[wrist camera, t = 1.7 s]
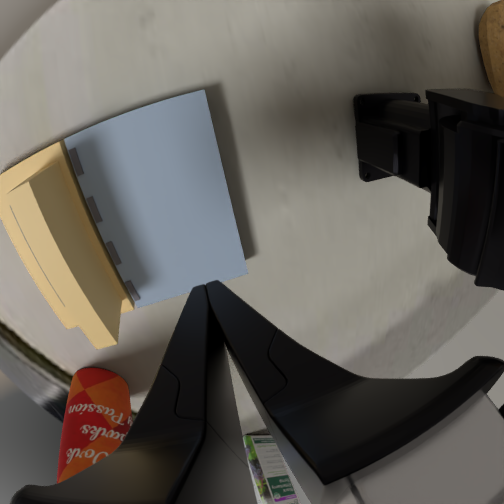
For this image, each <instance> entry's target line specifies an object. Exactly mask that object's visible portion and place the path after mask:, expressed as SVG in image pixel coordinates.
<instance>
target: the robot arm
mask: <svg viewBox="0 0 504 504" xmlns="http://www.w3.org/2000/svg"><path fill="white" fill-rule="evenodd" d="M425 92H426V99H428V104H424V103H421V100H420V96H419V95H418V94H417V93H374V94H358V95H356V96H355V97H354V110H355V120H356V126H355V127H356V139H357V153H358V159H359V176H360V179H361V180H363V181H365V182H370V181H374V180H378V179H382V178H386V177H390V176H397V177H399V178H401V179H403V180H405V181H407V182H409V183H411V184H413V185H415V186H417V187H419V188H422V189H424V190H426V191H428V192H429V193H431V202H430V216H428V226H429V227H430V228H431V230H432V231H433V232H434V234H435V235H436V236H437V239H438V242H439V244H440V245H441V246H442V248H443V249H444V250H445V252H446V253H447V259H448V261H449V262H450V263H452V264H453V265H454V266H456V267H457V268H459V269H460V270H462V271H464V272H466V273H468V274H470V275H473V276H476V278H475V281H474V284H475V285H476V286H481V287H493V288H497V289H500V290H504V98H503V97H501V96H499V95H497V94H494V93H489V92H484V91H478V90H472V89H431V90H425ZM414 98H415V100H414ZM360 99H362V104H360ZM366 173H367V176H366V177H365V174H366ZM224 342H225V343H224ZM225 345H226V346H225ZM226 347H227V350H228V352H229V354H230V356H231V358H232V360H233V362H234V364H235V366H236V369H237V371H238V373H239V375H240V377H241V379H242V381H243V383H244V385H245V387H246V389H247V391H248V392H249V394H250V396H251V398H252V400H253V402H254V404H255V406H256V408H257V410H258V412H259V414H260V415H261V417H262V419H263V421H264V423H265V425H266V427H267V429H268V430H269V432H270V434H271V436H272V438H273V439H274V441H275V443H276V445H277V447H278V448H279V450H280V452H281V454H282V455H283V457H284V459H285V461H286V462H287V464H288V466H289V467H290V469H291V471H292V473H293V474H294V476H295V478H296V479H297V481H298V483H299V484H300V486H301V488H302V489H303V491H304V492H305V494H306V496H307V497H308V499H309V500H310V502H311V504H504V404H503V405H502V406H501V407H500V409H499V410H498V408H497V407H496V406H495V404H494V403H493V402H492V401H491V400H490V398H489V397H488V395H487V393H488V391H489V390H490V389H491V388H492V386H493V385H494V384H495V383H496V381H497V380H498V379H499V378H500V376H501V375H502V373H503V372H504V361H503V360H501V359H499V358H495V357H489V356H475V357H473V358H471V359H470V360H468V361H467V362H465V363H464V364H463V365H462V366H460V367H459V368H458V369H456V370H455V371H453V372H451V373H449V374H446V375H443V376H440V377H435V378H419V379H380V378H367V377H363V376H359V375H356V374H354V373H352V372H350V371H348V370H346V369H344V368H342V367H340V366H338V365H336V364H334V363H332V362H331V361H329V360H327V359H325V358H323V357H321V356H319V355H318V354H316V353H314V352H312V351H311V350H309V349H307V348H306V347H304V346H302V345H300V344H299V343H298V342H296V341H295V340H293V339H292V338H291V337H289V336H288V335H286V334H285V333H284V332H283V331H281V330H280V329H278V328H277V327H276V326H275V325H273V324H272V323H271V322H270V321H268V320H267V319H266V318H265V317H263V316H262V315H261V314H260V313H258V312H257V311H256V310H255V309H253V308H252V307H251V306H250V305H248V304H247V303H246V302H245V301H243V300H242V299H241V298H240V297H238V296H237V295H236V294H235V293H234V292H232V291H231V290H230V289H229V288H227V287H226V286H225V285H224V284H223V283H221V282H220V281H219V280H214V281H211V282H208V283H206V285H205V284H201V285H198V286H195V287H193V288H192V290H191V292H190V295H189V297H188V299H187V301H186V304H185V306H184V308H183V311H182V313H181V316H180V318H179V320H178V323H177V325H176V327H175V330H174V332H173V335H172V337H171V340H170V342H169V344H168V347H167V349H166V352H165V354H164V357H163V359H162V362H161V365H160V366H159V369H158V371H157V374H156V376H155V379H154V381H153V383H152V386H151V388H150V390H149V392H148V394H147V396H146V398H145V400H144V402H143V404H142V406H141V408H140V410H139V412H138V413H137V415H136V417H135V419H134V421H133V423H132V425H131V427H130V429H129V431H128V432H127V434H126V436H125V438H124V440H123V441H122V443H121V444H120V445H119V446H118V448H117V449H116V450H115V451H113V452H112V453H111V454H109V455H108V456H106V457H105V458H103V459H101V460H100V461H98V462H96V463H95V464H93V465H91V466H89V467H88V468H86V469H84V470H82V471H81V472H79V473H77V474H75V475H74V476H72V477H70V478H68V479H66V480H64V481H62V482H60V483H57V484H55V485H50V486H38V485H25V486H24V487H22V488H21V489H20V490H18V491H17V492H16V493H15V494H14V496H13V497H12V499H11V501H10V504H258V503H257V499H256V495H255V491H254V486H253V482H252V477H251V473H250V469H249V464H248V460H247V455H246V450H245V446H244V441H243V436H242V431H241V426H240V421H239V416H238V411H237V406H236V401H235V395H234V390H233V384H232V379H231V373H230V368H229V362H228V356H227V351H226Z"/></svg>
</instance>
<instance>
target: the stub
mask: <svg viewBox="0 0 504 504" xmlns="http://www.w3.org/2000/svg"><path fill="white" fill-rule="evenodd" d="M0 217H1V219H2V222H3V224H4V226H5V228H6V230H7V232H8V234H9V236H10V238H11V240H12V242H13V244H14V246H15V248H16V250H17V252H18V254H19V256H20V257H21V259H22V261H23V263H24V265H25V266H26V268H27V270H28V271H29V273H30V275H31V277H32V278H33V280H34V281H35V283H36V285H37V286H38V288H39V290H40V291H41V293H42V294H43V296H44V297H45V299H46V300H47V302H48V303H49V305H50V306H51V308H52V309H53V311H54V312H55V314H56V315H57V316H58V318H59V319H60V321H61V322H62V323H63V325H64V326H65V327H66V329H70V328H73V327H77V326H79V327H80V328H81V330H82V331H83V332H84V334H85V335H86V336H87V338H88V339H89V340H90V342H91V343H92V344H93V346H94V347H95V348H96V349H100V348H104V347H108V346H112V345H116V344H118V334H119V324H120V315H121V313H124V312H128V311H131V310H134V303H135V302H134V300H133V298H132V297H131V295H130V293H129V291H128V289H127V287H126V285H125V284H124V282H123V280H122V278H121V276H120V274H119V272H118V270H117V268H116V266H115V264H114V262H113V260H112V258H111V256H110V254H109V252H108V250H107V248H106V246H105V243H104V241H103V239H102V237H101V235H100V233H99V230H98V228H97V226H96V224H95V221H94V219H93V217H92V214H91V212H90V209H89V207H88V205H87V202H86V200H85V197H84V195H83V192H82V190H81V187H80V184H79V182H78V179H77V176H76V174H75V171H74V168H73V165H72V162H71V159H70V157H69V154H68V151H67V147H66V144H65V141H64V140H61V141H59V142H57V143H55V144H53V145H51V146H49V147H47V148H45V149H44V150H42V151H40V152H38V153H36V154H34V155H32V156H31V157H29V158H27V159H25V160H24V161H22V162H20V163H19V164H17V165H15V166H14V167H12V168H10V169H9V170H7V171H6V172H4V173H2V174H1V175H0Z"/></svg>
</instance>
